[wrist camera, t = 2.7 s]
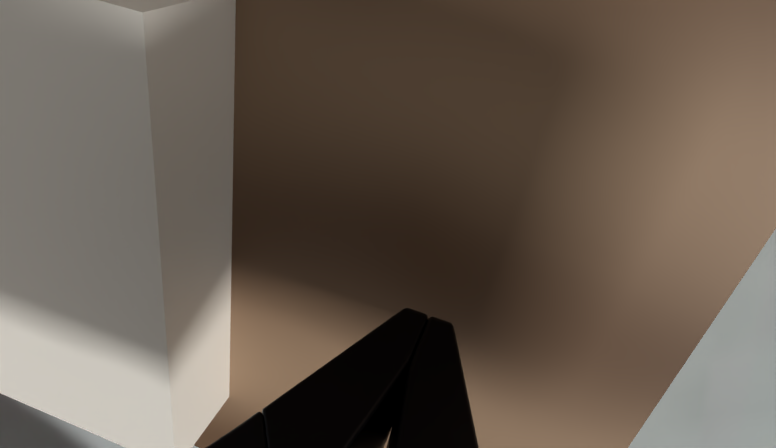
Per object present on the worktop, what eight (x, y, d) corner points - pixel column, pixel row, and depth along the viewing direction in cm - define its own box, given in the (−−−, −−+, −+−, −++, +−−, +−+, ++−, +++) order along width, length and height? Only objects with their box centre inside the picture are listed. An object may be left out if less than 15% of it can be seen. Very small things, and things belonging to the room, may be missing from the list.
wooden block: (544, 448, 16) (532, 588, 13) (12, 247, 19) (-107, 318, 16) (836, -95, 8) (992, -94, 5) (-123, -278, 12) (-402, -349, 8)
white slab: (229, 396, 13) (176, 469, 11) (17, 311, 14) (-61, 367, 12) (236, -11, 8) (143, 11, 6) (-93, -96, 9) (-248, -95, 7)
